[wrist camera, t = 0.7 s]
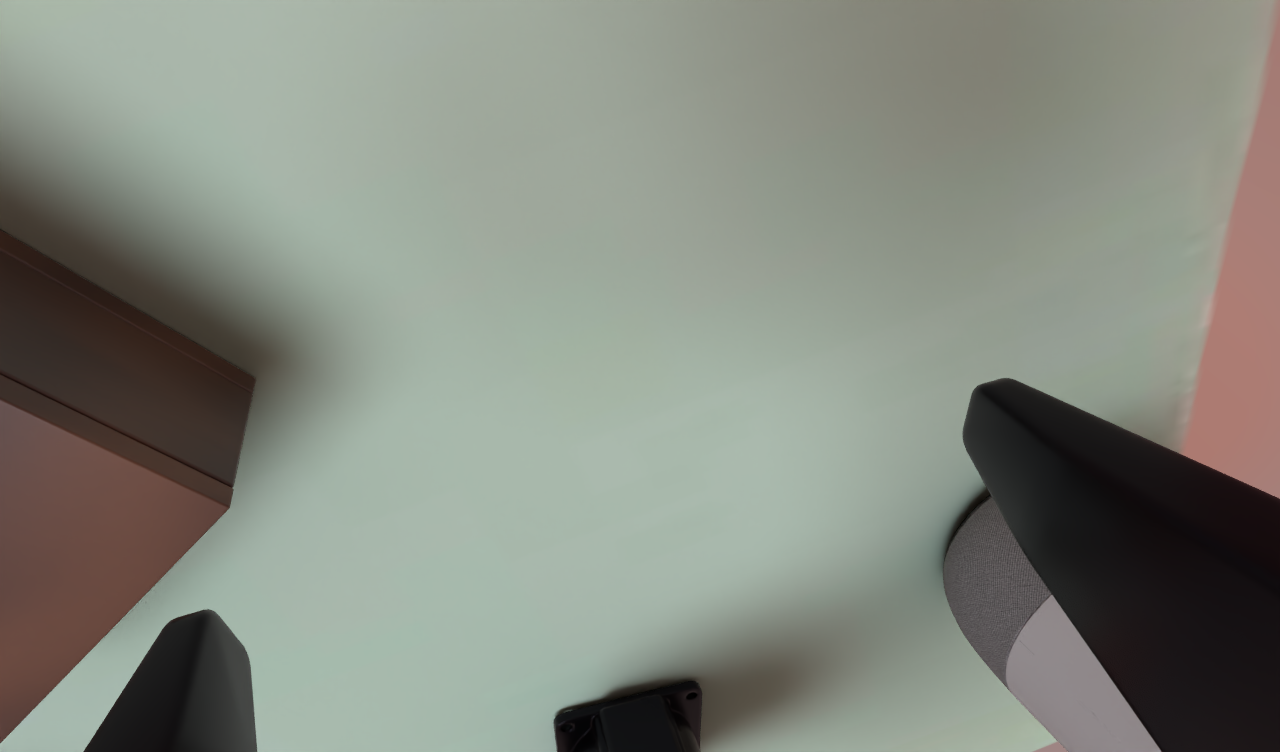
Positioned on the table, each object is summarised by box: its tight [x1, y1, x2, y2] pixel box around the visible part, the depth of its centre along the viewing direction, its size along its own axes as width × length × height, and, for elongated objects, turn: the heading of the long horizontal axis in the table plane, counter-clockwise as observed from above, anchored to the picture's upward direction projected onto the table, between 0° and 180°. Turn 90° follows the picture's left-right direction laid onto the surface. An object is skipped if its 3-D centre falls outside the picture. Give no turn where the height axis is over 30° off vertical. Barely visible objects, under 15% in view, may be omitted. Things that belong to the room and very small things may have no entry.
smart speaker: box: [943, 495, 1161, 752], centre depth 31 cm, size 10×9×14 cm
